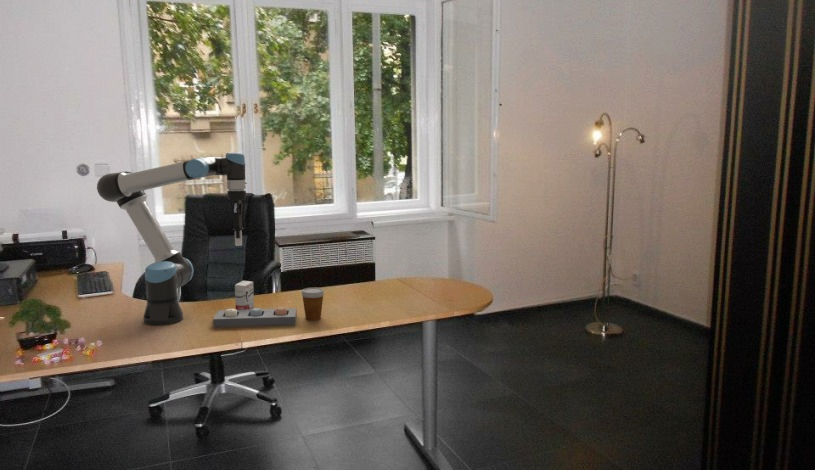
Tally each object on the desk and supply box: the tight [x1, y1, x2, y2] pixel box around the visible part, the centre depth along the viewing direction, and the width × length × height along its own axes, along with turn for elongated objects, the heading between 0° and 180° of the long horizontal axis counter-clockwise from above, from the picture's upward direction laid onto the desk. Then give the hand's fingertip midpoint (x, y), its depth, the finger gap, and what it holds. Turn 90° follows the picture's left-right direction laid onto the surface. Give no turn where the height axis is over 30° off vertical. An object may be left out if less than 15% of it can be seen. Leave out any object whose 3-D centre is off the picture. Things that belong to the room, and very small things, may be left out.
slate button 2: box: [249, 307, 262, 316], centre depth 242 cm, size 5×5×5 cm
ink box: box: [234, 280, 255, 310], centre depth 259 cm, size 9×5×12 cm, turn 168°
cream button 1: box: [224, 308, 237, 317], centre depth 241 cm, size 5×5×5 cm
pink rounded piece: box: [274, 306, 287, 315], centre depth 243 cm, size 5×5×5 cm
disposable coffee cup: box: [301, 287, 325, 321], centre depth 248 cm, size 10×10×12 cm
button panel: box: [212, 307, 298, 329], centre depth 242 cm, size 32×12×4 cm, turn 98°
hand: (238, 245), depth 250 cm, fingers closed
